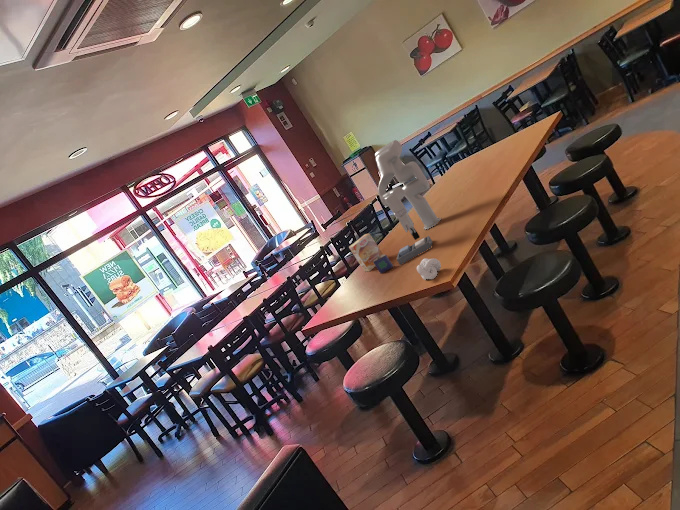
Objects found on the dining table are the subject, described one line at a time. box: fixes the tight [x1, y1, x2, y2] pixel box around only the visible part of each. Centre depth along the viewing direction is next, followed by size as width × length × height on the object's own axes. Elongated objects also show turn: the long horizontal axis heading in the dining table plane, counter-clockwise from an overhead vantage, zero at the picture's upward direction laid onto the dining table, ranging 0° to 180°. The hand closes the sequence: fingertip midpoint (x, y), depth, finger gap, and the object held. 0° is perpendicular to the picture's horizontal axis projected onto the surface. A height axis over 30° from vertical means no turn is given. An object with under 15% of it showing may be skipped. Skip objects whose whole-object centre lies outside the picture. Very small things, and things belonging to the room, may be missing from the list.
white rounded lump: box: [416, 257, 442, 281], centre depth 250 cm, size 11×12×9 cm
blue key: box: [398, 244, 411, 257], centre depth 302 cm, size 6×6×3 cm
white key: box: [414, 237, 427, 248], centre depth 298 cm, size 6×6×3 cm
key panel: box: [396, 235, 433, 266], centre depth 300 cm, size 12×21×4 cm, turn 76°
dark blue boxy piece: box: [373, 254, 394, 275], centre depth 305 cm, size 9×3×11 cm, turn 74°
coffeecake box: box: [348, 233, 384, 272], centre depth 330 cm, size 15×7×20 cm, turn 117°
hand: (417, 238), depth 298 cm, fingers closed
